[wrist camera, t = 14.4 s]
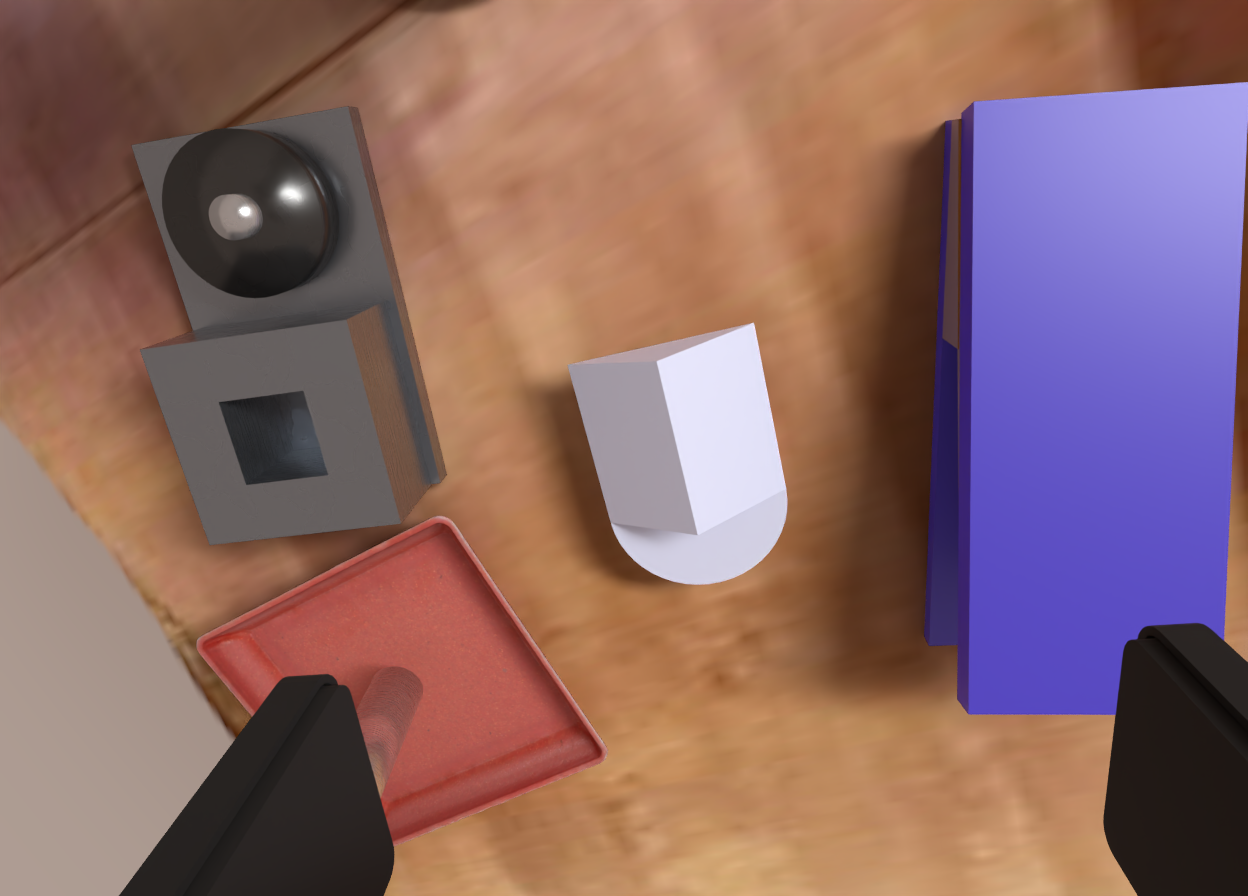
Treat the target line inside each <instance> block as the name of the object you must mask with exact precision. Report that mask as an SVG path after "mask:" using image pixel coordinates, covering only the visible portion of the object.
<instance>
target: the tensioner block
mask: <svg viewBox="0 0 1248 896" xmlns="http://www.w3.org/2000/svg"><path fill="white" fill-rule="evenodd" d="M131 146H132V149H133V152H134V155H135V158H136V161H137V164H138V167H139V170H140V173H141V176H142V179H143V182H144V185H145V188H146V191H147V194H148V197H149V200H150V203H151V206H152V209H153V212H154V215H155V218H156V221H157V224H158V227H159V230H160V233H161V236H162V239H163V242H164V245H165V248H166V251H167V254H168V257H169V260H170V263H171V266H172V269H173V272H174V275H175V278H176V281H177V284H178V287H179V290H180V293H181V296H182V299H183V302H184V305H185V308H186V311H187V314H188V317H189V320H190V323H191V326H192V329H193V331H191V332H188V333H186V334H183V335H180V336H177V337H174V338H172V339H169V340H166V341H163V342H160V343H157V344H155V345H152V346H149V347H146V348H143V349H141V350H140V352H141V355H142V357H143V360H144V363H145V366H146V369H147V371H148V374H149V377H150V380H151V383H152V385H153V388H154V391H155V394H156V396H157V399H158V402H159V405H160V408H161V410H162V413H163V416H164V419H165V422H166V424H167V427H168V430H169V433H170V436H171V438H172V441H173V444H174V447H175V450H176V452H177V455H178V458H179V461H180V463H181V466H182V469H183V472H184V475H185V477H186V480H187V483H188V486H189V489H190V491H191V494H192V497H193V500H194V503H195V505H196V508H197V511H198V514H199V517H200V519H201V522H202V525H203V528H204V531H205V533H206V536H207V539H208V542H209V544H210V545H215V544H224V543H233V542H242V541H251V540H260V539H269V538H277V537H286V536H295V535H304V534H313V533H322V532H331V531H340V530H349V529H357V528H366V527H375V526H384V525H393V524H401V523H402V522H403V520H404V519H405V518H406V517H407V515H408V514H409V513H410V511H411V510H412V509H413V508H414V506H415V505H416V504H417V502H418V501H419V500H420V499H421V497H422V496H423V495H424V493H425V492H426V491H427V489H428V488H429V487H430V486H431V484H436V483H441V482H442V480H443V479H444V478H445V476H446V475H447V474H446V469H445V465H444V461H443V457H442V453H441V449H440V445H439V441H438V436H437V432H436V428H435V424H434V420H433V416H432V412H431V408H430V403H429V399H428V395H427V391H426V387H425V383H424V379H423V375H422V371H421V366H420V362H419V358H418V354H417V350H416V346H415V342H414V338H413V333H412V329H411V325H410V321H409V317H408V313H407V309H406V305H405V300H404V296H403V292H402V288H401V284H400V280H399V276H398V272H397V267H396V263H395V259H394V255H393V251H392V247H391V243H390V239H389V234H388V230H387V226H386V222H385V218H384V214H383V210H382V206H381V202H380V197H379V193H378V189H377V185H376V181H375V177H374V173H373V169H372V164H371V160H370V156H369V152H368V148H367V144H366V140H365V136H364V131H363V127H362V123H361V119H360V115H359V111H358V108H356V107H349V106H347V107H341V108H336V109H330V110H325V111H319V112H313V113H308V114H302V115H297V116H291V117H286V118H280V119H274V120H269V121H263V122H258V123H252V124H246V125H241V126H235V127H230V128H224V129H215V130H211V131H207V132H202V133H196V134H190V135H185V136H179V137H174V138H168V139H163V140H157V141H151V142H146V143H140V144H135V145H131Z"/></svg>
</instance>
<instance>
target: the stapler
mask: <svg viewBox="0 0 1248 896" xmlns="http://www.w3.org/2000/svg"><path fill="white" fill-rule="evenodd" d="M1247 123H1248V82H1246V83H1231V84H1217V85H1203V86H1189V87H1175V88H1161V89H1146V90H1132V91H1118V92H1104V93H1090V94H1076V95H1061V96H1047V97H1033V98H1019V99H1005V100H990V101H976V102H973V103H972V104H971V105H970V106H969V107H968V108H967V109H965V110H964V111H963V112H962V119H957V120H950V121H946V125H945V149H944V173H943V197H942V221H941V245H940V269H939V293H938V317H937V341H936V365H935V389H934V413H933V437H932V461H931V485H930V509H929V533H928V557H927V581H926V605H925V629H924V637H925V639H926V641H927V643H928V645H929V646H942V645H958V674H957V699H958V701H959V702H960V704H961V705H962V706H963V708H964V709H965V710H966V712H967V713H968V714H1085V715H1116V708H1117V699H1118V691H1119V682H1120V674H1121V665H1122V657H1123V650H1124V646H1125V644H1126V643H1127V641H1129V640H1133V639H1137V638H1138V634H1139V632H1140V631H1141V629H1142V628H1144V627H1146V626H1151V625H1168V624H1185V623H1201V624H1204V625H1206V626H1207V627H1209V628H1210V629H1212V630H1213V631H1214V632H1215V633H1216V634H1217V635H1218V636H1219V637H1220V638H1222V639H1223V640H1224V625H1225V603H1226V581H1227V559H1228V537H1229V515H1230V494H1231V472H1232V450H1233V428H1234V406H1235V385H1236V363H1237V341H1238V319H1239V297H1240V275H1241V254H1242V232H1243V210H1244V188H1245V166H1246V145H1247Z"/></svg>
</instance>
